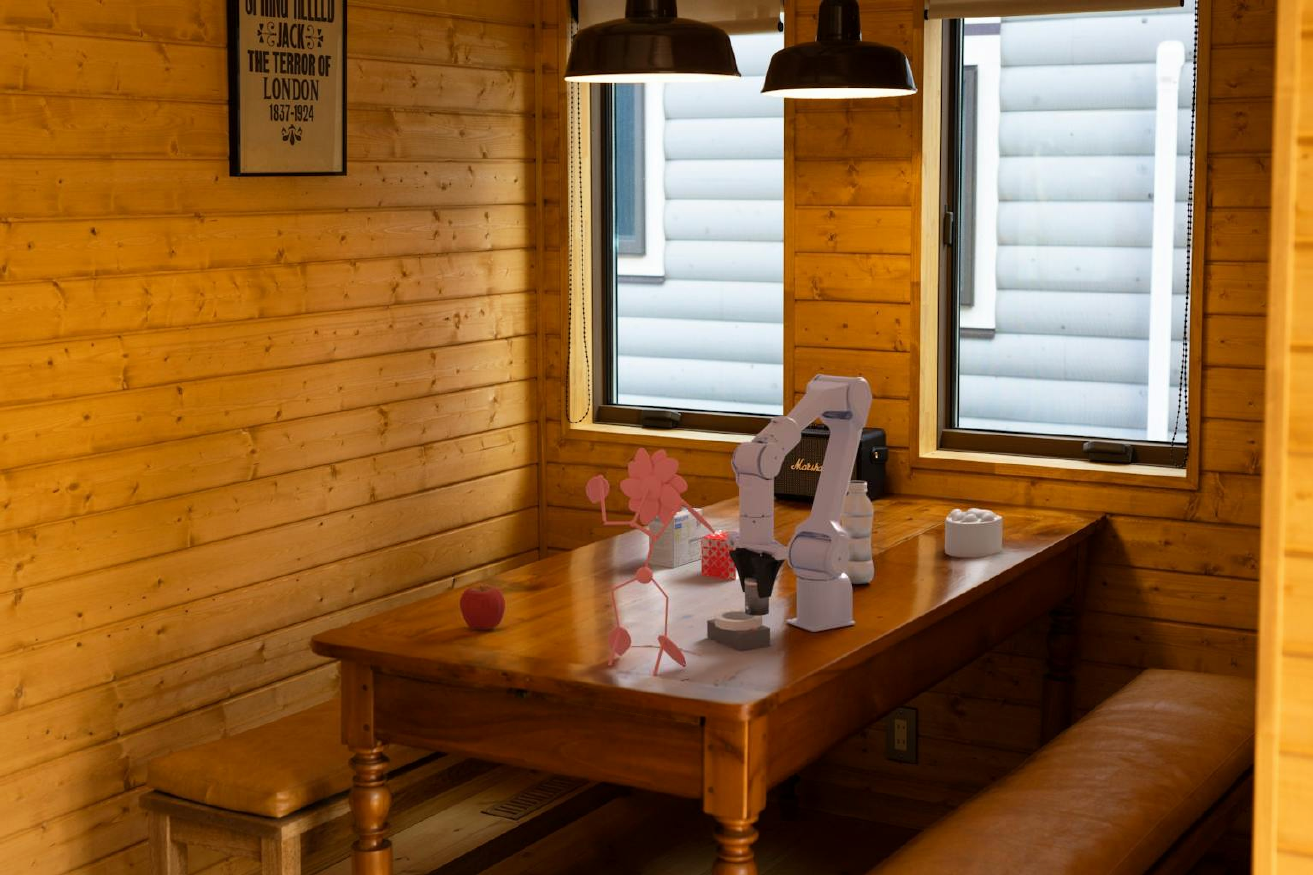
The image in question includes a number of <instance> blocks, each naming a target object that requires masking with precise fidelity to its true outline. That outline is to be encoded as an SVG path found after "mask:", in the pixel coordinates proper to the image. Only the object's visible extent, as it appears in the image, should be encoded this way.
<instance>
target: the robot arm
mask: <svg viewBox="0 0 1313 875" xmlns="http://www.w3.org/2000/svg"><path fill="white" fill-rule="evenodd" d="M872 401H873V394H872V390H871V388H870V385H869V382H868V381H867V380H866V379H865V378H864V377H862V376H856V377H851V376H849V377H848V376H837V375H826V374H822V373H821V374H819V373H818V374H816V375H815V376H814V377H812V379H811V380H810V381H809V382H807V383H806V389H805V394H804V395H803V396H802V398H800V400H799V401H798V402H797V404H795V406H793V408H792V409H791V411H790V412H789V413H788V414H787V415H786V416H785V415H780V416H779V415H778V416H773V417H772V418H771V419H770V422H769V423H768V424H767V426H765V427H764V428H763V429H762V430H761V431H760V432H759V433H757V434H756V435H755V437H754V438H753V439H751V440H750V441H743V442H742V443H740V444H739V445H738V446H736V447H735V450H734V451H733V454H732V459H731V460H730V464H731V469H732V470H733V472H734V474H735V483H736V485H737V486H738V489H739V490H738V508H739V509H738V512H739V513H738V514H739V516H738V519H739V524H738V525H739V529H738V530H739V531H738V532H739V533H736V532H737V531H734V532H735V533H728V534H727V545H729V546H732V545H734V546H735V547H736V549H735V550H733V551H729V556H730V557H731V559H732V561H733V562H734V565H735V567H736V569H737V572H738V576H739V579H738V580H739V583H740V586H741V591H742V593H744V594H745V583H744V580H745V577H746V576H749V575H756V578H757V591H758V596H759V598H767V597H769V598H771V597H772V595H773V590H774V586H775V581H776V579H777V576H778V573H779V571H780V570H781V568H782V566H783V564H784V562H785V561H786V562H787V564H788V566H789V567H790V568H791V569H792V574H793V575H796V617H794V618H789V619H786V621H785V622H786V623H787V624H790V625H793V626H795V627H798V628H801V629H803V630H806V631H809V632H812V633H816V632H821V631H826V630H831V629H837V628H842V627H849V626H851V625H853V626H854V625H855V624H856V621H854V620H853V586H852V583H851V582H850V579H849V578H848V576H847V575H846V574H844V573H843V572H844V570H845V569H846V567H847V564H848V560H849V553H848V548H849V541H850V537H849V536H848V534H847V533H846V532H845V531H844V529H843V527H842V524H840V523H841V521H842V520H841V516H842V512H843V507H844V503H845V499H846V497H847V496H848V492H847V491H848V487H849V483H850V481H851V478H852V474H853V470H854V465H855V463H856V462H855V461H856V458H857V454H858V451H859V450H858V448H859V445H860V442H861V437H862V433H863V428H864V429H865V427H866V425H867V421H868V416H869V413H870V408H871V405H872ZM818 418H819V420H820V421H821V422H822V424H824V425H826V427H828V429H829V432H830V435H829V438H828V443H827V446H826V450H825V454H824V455H825V456H824V459H823V462H822V467H821V471H820V475H819V478H818V483H817V487H816V491H815V495H814V498H813V504H812V507H811V512H810V516H809V517H808V518H807V519H805V520H803V521H802V522H800V523H799V524H797V525H796V526H795V529H794V533H793V536H792V537H791V539H790V541H789V542H788V544H787V546H785V545H783V544H781V543H780V542H778V541H777V540H776V539H775V534H774V533H775V531H774V530H775V528H774V527H775V526H774V525H775V522H774V521H775V519H774V518H775V514H774V513H775V512H774V508H775V505H774V504H775V502H774V501H775V500H774V499H775V494H774V492H775V491H774V490H775V488H774V483H775V482H774V481H775V480H774V479H775V477H777V476H778V474H779V473H780V471H781V468H782V464H783V462H784V461H785V457H786V456H787V455H788V454H789V453H790V452H791V451H792V450H793V449H794V448H795V447H796V446H797V445H798V444H799V443H800V442H801V440H802V431H803V430H804V429H806V428H807V427H808V426H809V425H810V424H811V423H813V422H814V421H815V420H817V419H818Z"/></svg>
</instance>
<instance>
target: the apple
mask: <svg viewBox="0 0 1313 875" xmlns="http://www.w3.org/2000/svg"><path fill="white" fill-rule="evenodd" d="M459 608H460V612H461V614H462V618H463V620H464V622H465V624H466V625H467V626H468V627H470V628H471V629H472V630H476V631H487V630H492V629H494V628H496V627H498V626H499V625H500V624H501V622H502V620H503V617H504V614H505V610H506V599H505V598H504V596H503V593H501V591H500V590H499V589H498V588H497V587H493V586H488V585H485V586H484V585H480V586H474V587H469V588H466V589H465V590H464V591H463V593H462V594H461V596H460V599H459Z"/></svg>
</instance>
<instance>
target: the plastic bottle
mask: <svg viewBox="0 0 1313 875" xmlns="http://www.w3.org/2000/svg"><path fill="white" fill-rule="evenodd" d="M867 487H868V482H867V481H865V480H850V483H849V487H848V491H847V495H846V499H845V503H844V507H843V512H842V516H841V520H840V521H841V527H842V528H843V529H844V531H845V532H846V533H847V534H848V536H849V537H850V541H849V548H848V553H849V560H848V564H847V567H846V569H845V570H844V572H843V573H844V574H846V575H847V576H848V578H849V579H850V582H851V584H854V585H862V584H867V583H870V582H871V581H872V580H873V578H874V575H875V574H874V573H875V568H874V561H873V558H872V557H873V556H872V545H871V544H872V537H871V536H872V527H873V520H874V511H875V510H874V506H873V503H872V502H871V499H870V498H869V497H868V495H867V492H868V488H867Z"/></svg>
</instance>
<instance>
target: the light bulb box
mask: <svg viewBox="0 0 1313 875" xmlns="http://www.w3.org/2000/svg"><path fill="white" fill-rule="evenodd" d="M692 508H693V509H694V510H695V511H697V512H698V513H699V514H700V515H701V516H702V517H703V514H702V513H703V511H702V510H703V509H702V508H695V507H692ZM663 526H664V524H663V523H662V522H660V519H659V517H658V515H657V516H656V518H655V519H654V520H653V521H652V522H651V523H649V524H648V530H649V531H651V532H652V533H654V534H656V535H657V534H658V533H659V531H660V530H661V528H662V527H663ZM701 537H703V524H702V523H701V522H699V521H698V520H697V519H696V518H695V517H694V516H693V515H692V514H691V513H690V512H689V511H688V510H687V509H686V508H685V506H683V507H682V510H681V511H680V512H677V513H676V514H675V516H674V517H673V519H672V520H671V522H670V523H669V524H668V526H667V527H666V529H665V530H664V532H663V533H662V535H661V536H660V537H659V539H656V538H655V541H654V545H653V548H652V552H651V555H650V559H649V562H648V565H652V566H656V567H657V566H658V567H664V568H670V569H674V568H677V567H680V566H682V565H683V566H684V565H687V564H690V563H692V562H695V561H698V560H701ZM651 539H652V538H651V537H650V536H648V547H649V548H650V543H651ZM649 548H648V549H649Z"/></svg>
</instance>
